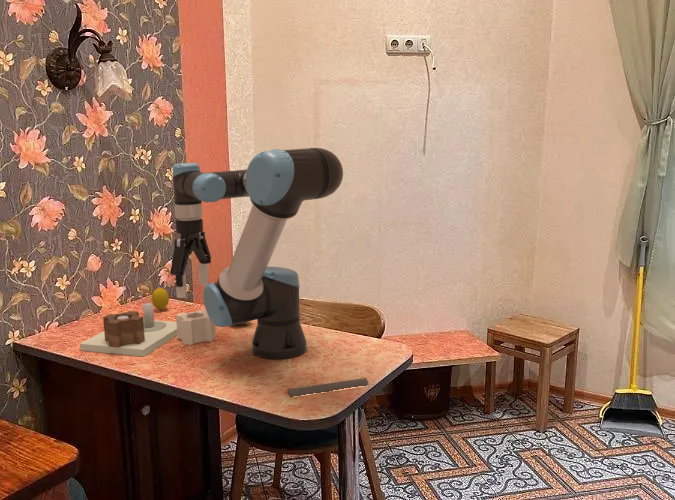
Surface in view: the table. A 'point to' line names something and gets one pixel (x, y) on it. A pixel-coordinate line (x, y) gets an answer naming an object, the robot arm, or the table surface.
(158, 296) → the lemon
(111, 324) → the walnut gear
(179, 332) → the cream gear
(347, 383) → the gray half cylinder
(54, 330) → the table surface
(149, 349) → the board
